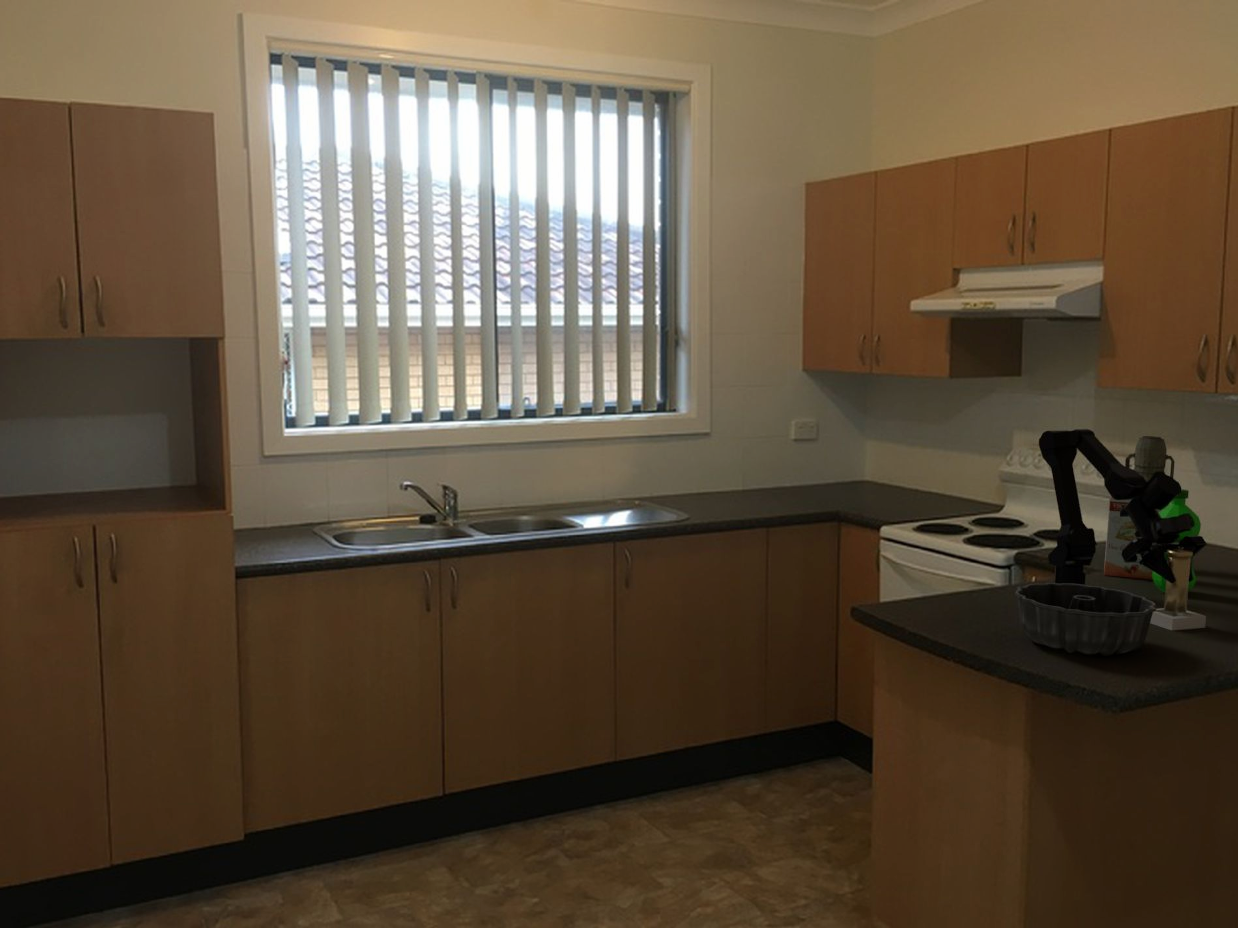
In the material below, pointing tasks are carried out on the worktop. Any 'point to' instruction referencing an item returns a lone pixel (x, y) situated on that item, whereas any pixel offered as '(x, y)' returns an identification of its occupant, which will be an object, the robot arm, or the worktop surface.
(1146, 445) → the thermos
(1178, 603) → the gold cylinder
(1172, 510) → the plastic bottle
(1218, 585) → the worktop surface
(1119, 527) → the cracker box
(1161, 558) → the robot arm
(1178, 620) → the frame
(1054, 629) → the bundt pan
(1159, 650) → the worktop surface
